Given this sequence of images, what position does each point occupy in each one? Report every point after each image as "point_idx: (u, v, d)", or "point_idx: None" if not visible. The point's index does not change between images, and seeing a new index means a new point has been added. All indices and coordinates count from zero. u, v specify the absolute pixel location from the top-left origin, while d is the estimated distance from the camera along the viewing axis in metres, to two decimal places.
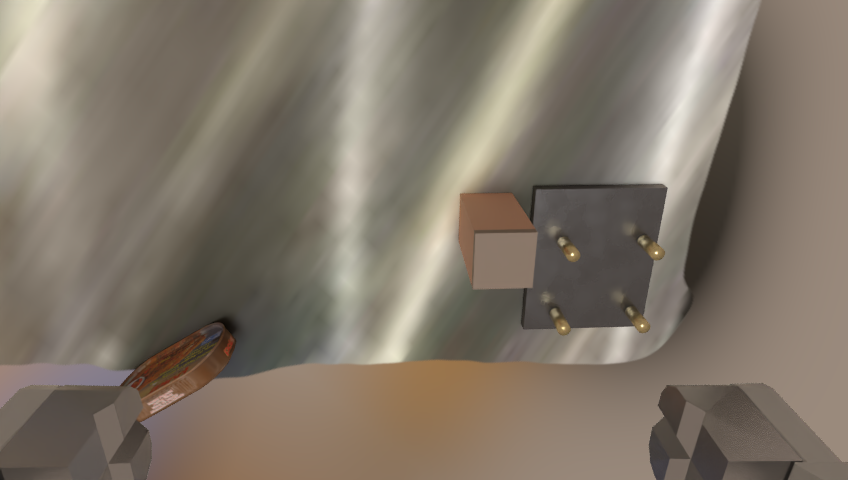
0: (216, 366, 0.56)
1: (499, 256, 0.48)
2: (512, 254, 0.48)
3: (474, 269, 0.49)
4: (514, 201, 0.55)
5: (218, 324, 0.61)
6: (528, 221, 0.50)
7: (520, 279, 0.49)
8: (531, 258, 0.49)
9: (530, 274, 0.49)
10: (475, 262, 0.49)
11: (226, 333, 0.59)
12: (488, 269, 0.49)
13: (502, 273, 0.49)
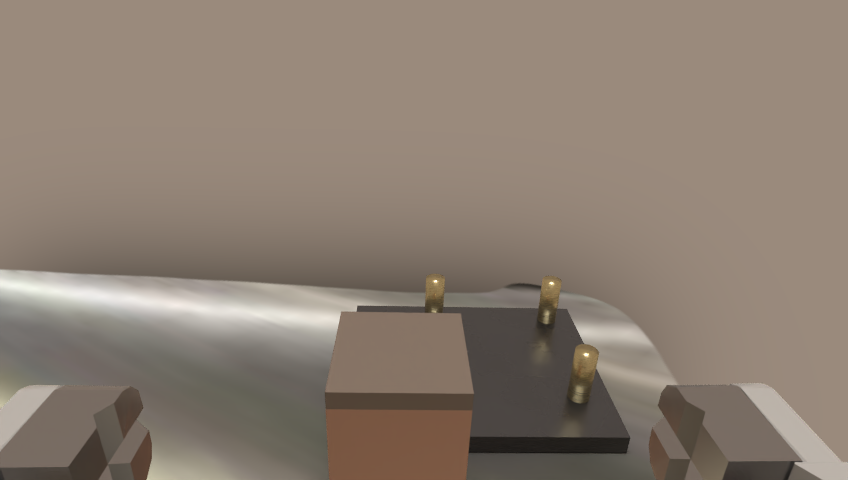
0: None
1: (388, 355, 0.22)
2: (385, 338, 0.23)
3: (420, 393, 0.20)
4: None
5: None
6: None
7: (442, 327, 0.24)
8: (396, 316, 0.25)
9: (431, 316, 0.25)
10: (401, 390, 0.20)
11: None
12: (419, 370, 0.21)
13: (430, 350, 0.23)
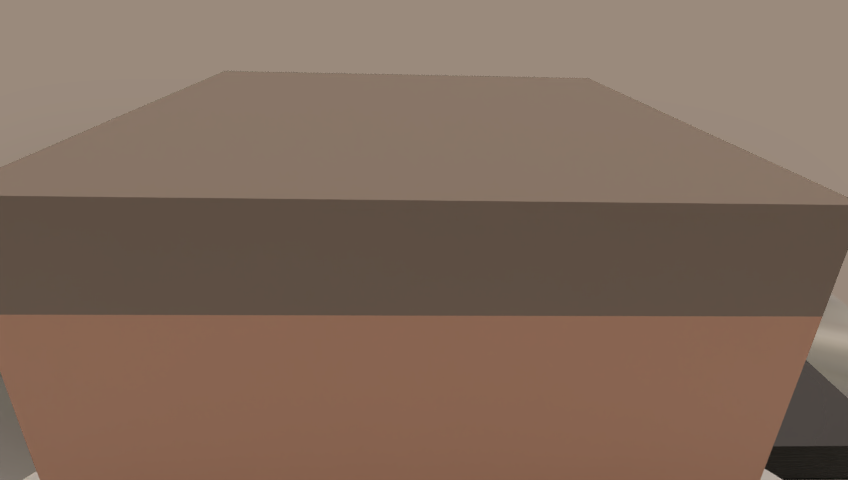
0: None
1: (360, 119, 0.05)
2: (352, 98, 0.06)
3: (540, 207, 0.03)
4: None
5: None
6: None
7: (549, 89, 0.07)
8: (392, 77, 0.08)
9: (501, 78, 0.08)
10: (423, 194, 0.03)
11: None
12: (506, 145, 0.04)
13: (530, 114, 0.06)
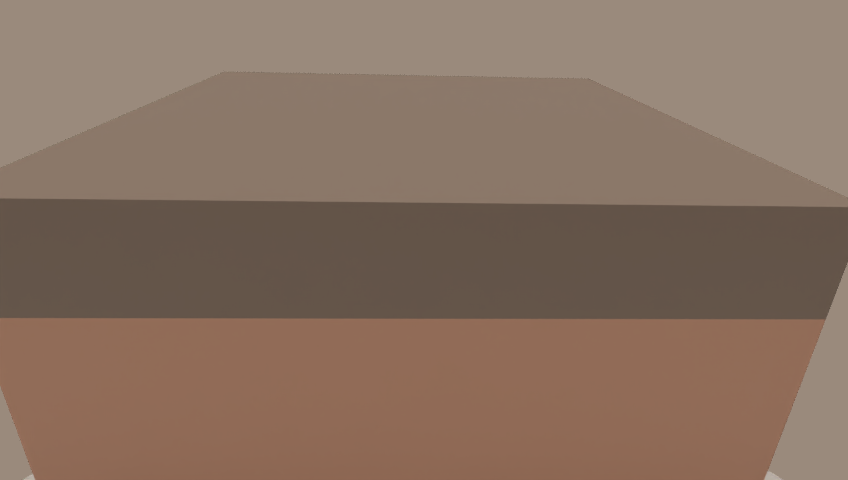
0: None
1: (359, 120, 0.05)
2: (352, 99, 0.06)
3: (541, 209, 0.03)
4: None
5: None
6: None
7: (549, 90, 0.07)
8: (392, 78, 0.08)
9: (501, 79, 0.08)
10: (423, 196, 0.03)
11: None
12: (507, 146, 0.04)
13: (530, 115, 0.06)
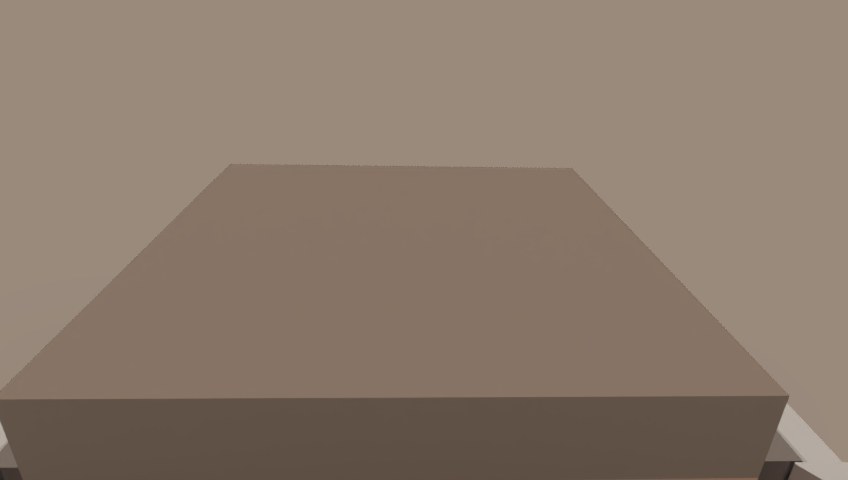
0: None
1: (356, 254, 0.06)
2: (350, 214, 0.07)
3: (510, 397, 0.04)
4: None
5: None
6: None
7: (533, 192, 0.08)
8: (388, 172, 0.08)
9: (490, 172, 0.09)
10: (409, 386, 0.04)
11: None
12: (486, 299, 0.05)
13: (511, 241, 0.06)
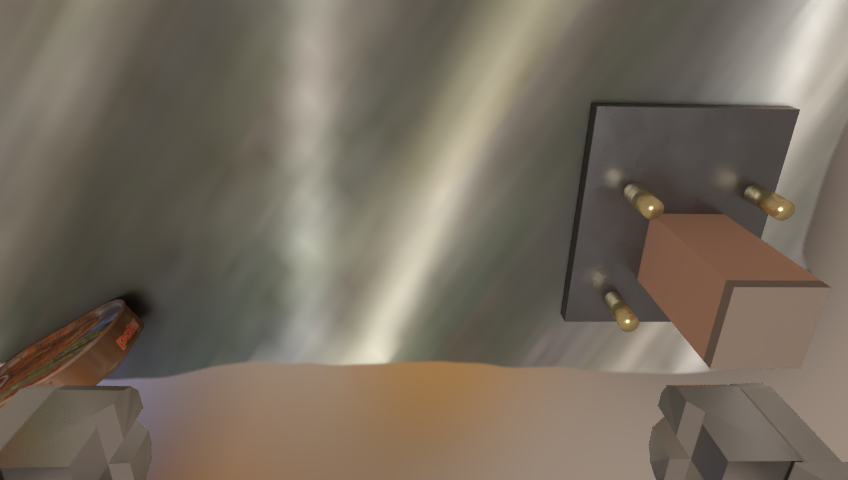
0: (102, 364, 0.37)
1: (762, 322, 0.31)
2: (783, 319, 0.31)
3: (719, 340, 0.31)
4: (741, 228, 0.38)
5: (119, 302, 0.41)
6: (795, 264, 0.33)
7: (785, 356, 0.32)
8: (810, 326, 0.31)
9: (802, 349, 0.32)
10: (723, 330, 0.31)
11: (126, 315, 0.40)
12: (740, 340, 0.31)
13: (760, 347, 0.32)
